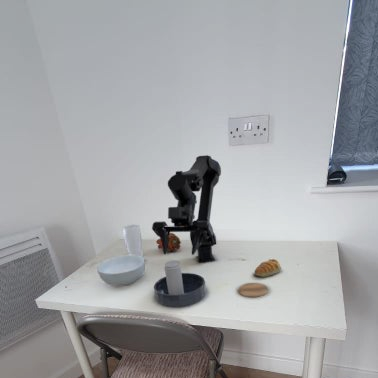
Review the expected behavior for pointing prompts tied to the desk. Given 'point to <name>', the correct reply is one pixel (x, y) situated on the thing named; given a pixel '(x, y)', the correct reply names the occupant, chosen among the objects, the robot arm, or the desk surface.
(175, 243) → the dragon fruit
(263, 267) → the pastry
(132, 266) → the cereal bowl
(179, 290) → the beverage can
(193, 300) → the pan
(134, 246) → the drinking glass
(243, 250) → the desk surface
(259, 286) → the coaster
